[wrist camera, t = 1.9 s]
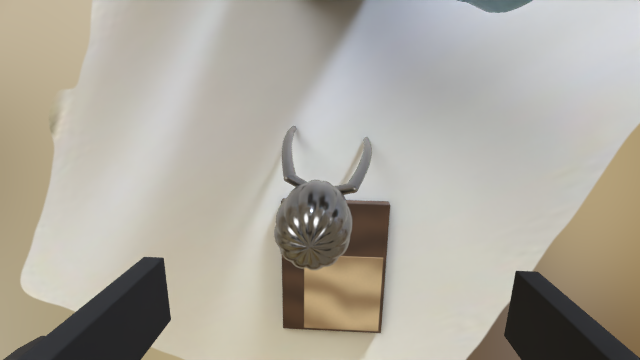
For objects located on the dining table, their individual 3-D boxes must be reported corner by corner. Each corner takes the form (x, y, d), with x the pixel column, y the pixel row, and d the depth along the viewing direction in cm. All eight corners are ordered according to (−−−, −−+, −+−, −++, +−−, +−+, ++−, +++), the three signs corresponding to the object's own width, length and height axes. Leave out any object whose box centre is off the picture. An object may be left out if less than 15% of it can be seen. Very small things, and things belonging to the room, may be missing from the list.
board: (282, 198, 48) (280, 201, 46) (388, 201, 47) (390, 205, 45) (284, 322, 53) (282, 329, 52) (379, 326, 52) (381, 334, 51)
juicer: (319, 196, 47) (292, 347, 18) (291, 126, 45) (208, 173, 16) (381, 174, 46) (457, 298, 17) (355, 101, 44) (391, 101, 15)
